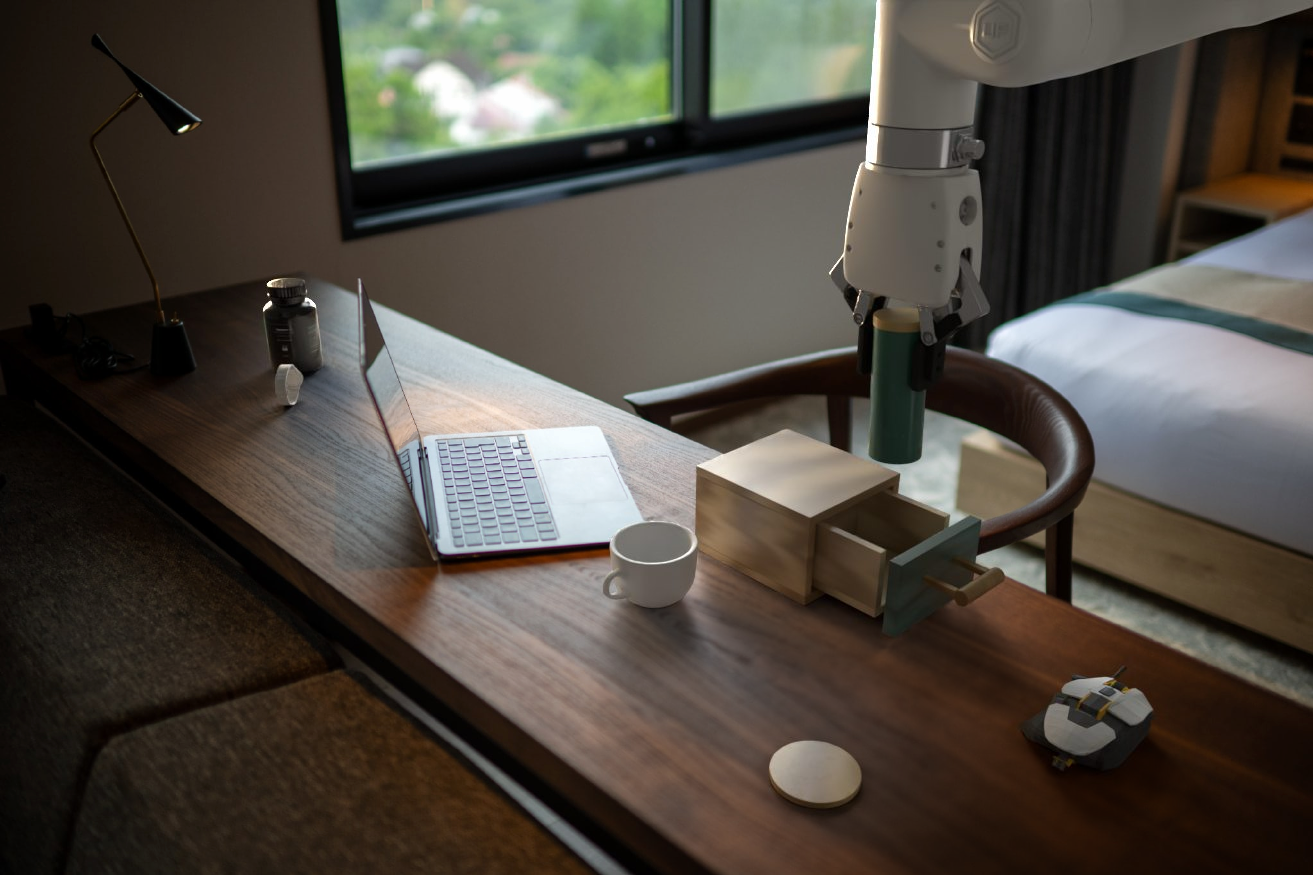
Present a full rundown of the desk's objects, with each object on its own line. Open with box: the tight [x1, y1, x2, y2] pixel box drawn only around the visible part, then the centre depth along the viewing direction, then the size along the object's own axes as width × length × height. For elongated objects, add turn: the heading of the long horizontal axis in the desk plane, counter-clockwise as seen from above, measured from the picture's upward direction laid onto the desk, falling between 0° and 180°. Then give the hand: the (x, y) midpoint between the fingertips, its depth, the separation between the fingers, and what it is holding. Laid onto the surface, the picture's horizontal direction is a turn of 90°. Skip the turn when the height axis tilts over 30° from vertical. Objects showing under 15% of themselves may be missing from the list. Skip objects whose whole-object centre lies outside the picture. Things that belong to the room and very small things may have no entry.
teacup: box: [602, 520, 699, 609], centre depth 96 cm, size 10×8×5 cm
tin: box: [867, 306, 927, 466], centre depth 89 cm, size 4×4×12 cm
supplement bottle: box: [262, 277, 324, 376], centre depth 147 cm, size 7×7×12 cm
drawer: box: [812, 488, 1006, 639], centre depth 95 cm, size 17×12×7 cm
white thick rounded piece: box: [274, 365, 304, 406], centre depth 137 cm, size 3×5×5 cm, turn 1°
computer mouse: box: [1019, 665, 1157, 772], centre depth 81 cm, size 7×15×4 cm, turn 135°
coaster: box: [768, 740, 863, 810], centre depth 77 cm, size 6×6×1 cm
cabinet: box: [694, 428, 901, 606], centre depth 103 cm, size 14×13×9 cm
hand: (897, 376), depth 89 cm, fingers closed on tin, 4 cm apart
